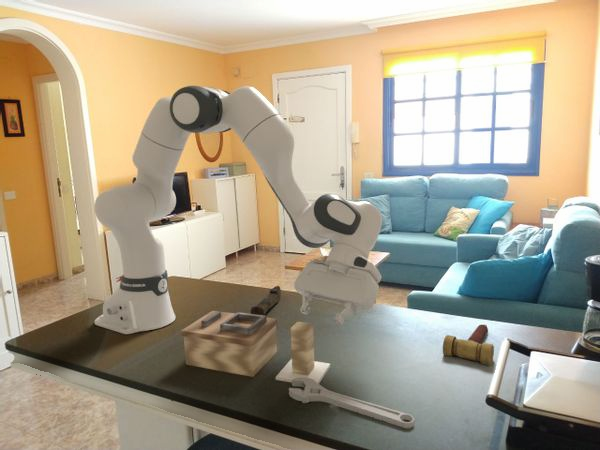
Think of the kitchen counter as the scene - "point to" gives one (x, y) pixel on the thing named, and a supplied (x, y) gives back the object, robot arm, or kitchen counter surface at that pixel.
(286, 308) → the kitchen counter surface
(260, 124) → the robot arm
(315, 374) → the white mat
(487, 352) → the gavel
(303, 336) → the oak block
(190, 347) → the brown rectangular box
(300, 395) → the adjustable wrench
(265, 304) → the hand tool
